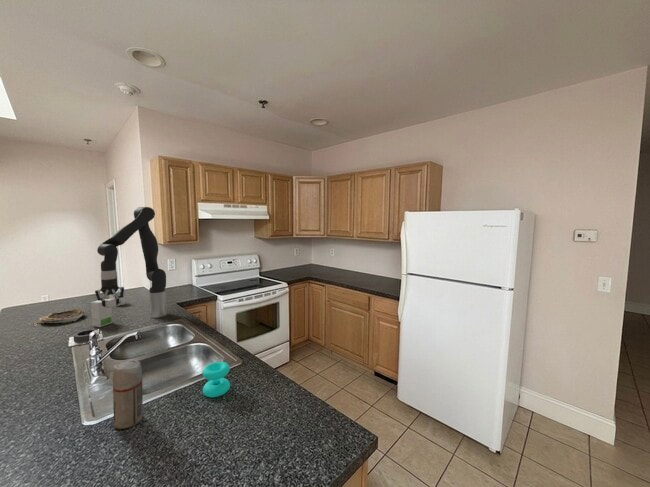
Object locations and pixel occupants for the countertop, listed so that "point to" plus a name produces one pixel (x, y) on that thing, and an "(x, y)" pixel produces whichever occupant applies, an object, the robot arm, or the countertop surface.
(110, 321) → the skincare box
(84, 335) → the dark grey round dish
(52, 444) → the countertop surface
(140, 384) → the brown cylinder
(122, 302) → the light bulb box
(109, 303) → the cap
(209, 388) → the teal spool
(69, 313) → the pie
